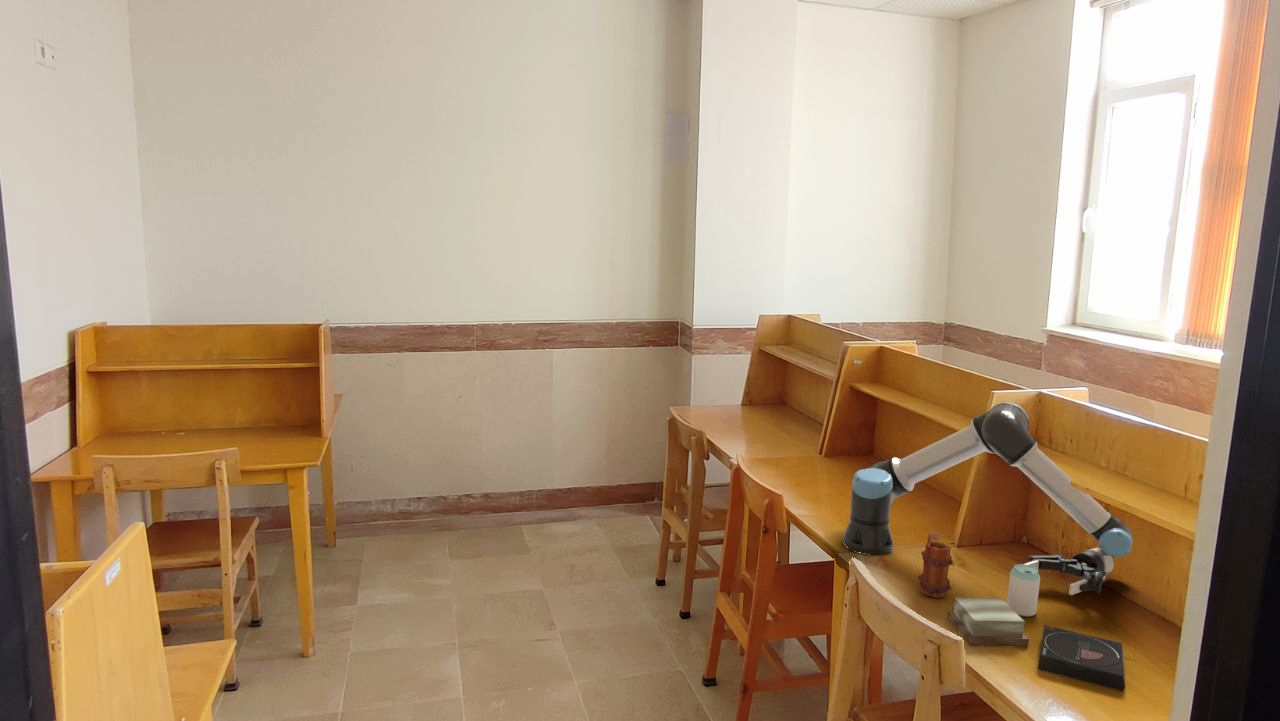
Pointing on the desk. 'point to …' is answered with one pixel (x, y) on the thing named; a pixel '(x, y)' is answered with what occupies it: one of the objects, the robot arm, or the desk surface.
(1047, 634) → the portable cd player
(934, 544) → the mug
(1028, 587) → the can
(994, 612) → the two-tier square plinth
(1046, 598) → the desk surface
